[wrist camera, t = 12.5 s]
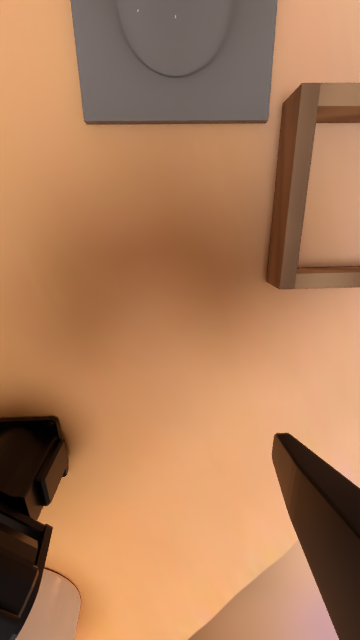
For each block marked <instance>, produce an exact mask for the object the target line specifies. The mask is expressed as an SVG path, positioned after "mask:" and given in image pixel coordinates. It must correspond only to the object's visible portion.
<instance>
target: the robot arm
mask: <svg viewBox="0 0 360 640" xmlns="http://www.w3.org/2000/svg"><path fill="white" fill-rule="evenodd" d="M50 422H52V423H53V424H51V423H50ZM272 460H273V464H274V467H275V470H276V474H277V477H278V481H279V484H280V487H281V491H282V494H283V497H284V501H285V504H286V507H287V510H288V514H289V516H290V519H291V522H292V524H293V527H294V529H295V532H296V534H297V536H298V539H299V541H300V544H301V546H302V549H303V551H304V553H305V556H306V559H307V561H308V564H309V566H310V569H311V571H312V573H313V576H314V578H315V581H316V583H317V586H318V588H319V591H320V593H321V595H322V598H323V601H324V603H325V605H326V608H327V611H328V613H329V616H330V618H331V620H332V623H333V625H334V628H335V630H336V633H337V635H338V638H339V640H360V488H359V487H357V486H356V485H355V484H353V483H352V482H351V481H350V480H348V479H347V478H346V477H344V476H343V475H342V474H341V473H339V472H338V471H337V470H335V469H334V468H333V467H332V466H330V465H329V464H328V463H326V462H325V461H324V460H323V459H321V458H320V457H319V456H317V455H316V454H315V453H314V452H312V451H311V450H310V449H308V448H307V447H306V446H305V445H303V444H302V443H301V442H299V441H298V440H297V439H296V438H294V437H293V436H292V435H290V434H289V433H276V434H275V435H274V440H273V448H272ZM67 464H68V457H67V452H66V447H65V442H64V440H63V439H62V437H61V432H60V427H59V422H58V419H57V418H55V417H31V418H6V419H0V640H15V639H16V638H17V636H18V634H19V633H20V631H21V629H22V627H23V626H24V624H25V622H26V620H27V618H28V616H29V614H30V611H31V609H32V607H33V604H34V602H35V599H36V597H37V594H38V591H39V587H40V584H41V579H42V575H43V570H44V566H45V561H46V556H47V552H48V547H49V543H50V538H51V534H52V529H53V527H51V526H49V525H48V524H45V525H44V524H42V523H40V522H39V521H37V519H38V517H39V515H40V513H41V510H42V508H43V506H48V505H49V504H50V503H51V502H52V499H53V497H54V494H55V492H56V490H57V487H58V485H59V483H60V480H61V478H62V477H65V476H66V475H67V472H68V466H67Z"/></svg>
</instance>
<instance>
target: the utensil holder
mask: <svg viewBox="0 0 360 640" xmlns="http://www.w3.org/2000/svg"><path fill="white" fill-rule="evenodd" d="M80 607H81V598H80V594H79V592H78V590H77V588H76V587H75V586H74V585H73V584H72V583H71V582H70V581H69V580H68V579H66V578H64V577H63V576H61V575H59V574H57V573H55V572H52V571H50V570H46V569H44V570H43V575H42V579H41V584H40V587H39V591H38V594H37V597H36V599H35V602H34V604H33V607H32V609H31V611H30V614H29V616H28V618H27V620H26V622H25V624H24V626H23V627H22V629H21V631H20V633H19V634H18V636H17V638H16V639H15V640H74V638H75V633H76V628H77V623H78V618H79V613H80Z"/></svg>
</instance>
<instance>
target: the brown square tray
mask: <svg viewBox="0 0 360 640" xmlns="http://www.w3.org/2000/svg"><path fill="white" fill-rule="evenodd" d="M347 122H360V83H302V84H301V85H300V86H299V87H298V88H297V89H296V90H295V91H294V92H293V93H292V94H291V95H290V97H289V98H288V99H287V100H286V101H285V102H284V103H283V109H282V120H281V131H280V141H279V152H278V163H277V174H276V185H275V196H274V207H273V218H272V229H271V239H270V250H269V261H268V272H267V282H268V283H270V284H271V285H273V286H275V287H276V288H278V289H312V288H351V287H360V266H347V267H304V268H297V266H298V258H299V250H300V242H301V235H302V227H303V219H304V211H305V203H306V196H307V188H308V180H309V172H310V164H311V157H312V149H313V141H314V133H315V125H316V123H347Z"/></svg>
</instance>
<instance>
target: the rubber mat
mask: <svg viewBox="0 0 360 640" xmlns="http://www.w3.org/2000/svg"><path fill="white" fill-rule="evenodd" d="M71 9H72V18H73V27H74V35H75V44H76V53H77V62H78V70H79V79H80V88H81V97H82V105H83V114H84V121H85V123H86V124H191V123H266V122H267V121H268V115H269V102H270V89H271V77H272V64H273V51H274V38H275V25H276V12H277V0H233V8H232V15H231V20H230V25H229V28H228V32H227V34H226V37H225V39H224V42H223V44H222V46H221V47H220V49H219V51H218V52H217V53H216V55H215V56H214V57H213V59H212V60H211V61H210V62H209V63H208V64H207V65H205V66H204V67H203V68H201V69H200V70H198V71H196V72H194V73H192V74H189V75H186V76H180V77H172V76H166V75H163V74H160V73H157V72H155V71H154V70H152V69H150V68H149V67H147V66H146V65H145V64H144V63H143V62H142V61H141V60H140V59H139V58H138V57H137V56H136V55H135V53H134V52H133V50H132V49H131V47H130V46H129V44H128V42H127V40H126V38H125V36H124V33H123V31H122V28H121V24H120V21H119V16H118V10H117V3H116V0H71Z"/></svg>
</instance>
